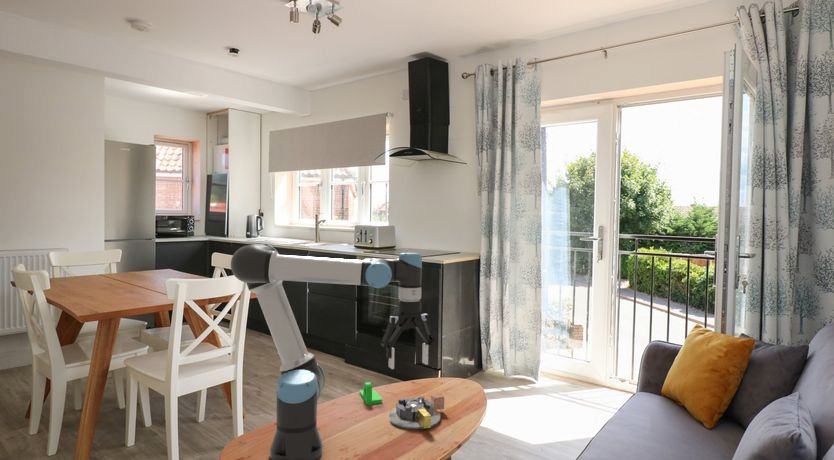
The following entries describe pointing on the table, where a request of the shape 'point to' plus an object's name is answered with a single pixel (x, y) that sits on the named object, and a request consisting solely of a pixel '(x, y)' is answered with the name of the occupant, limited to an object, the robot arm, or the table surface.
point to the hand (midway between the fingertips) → (408, 365)
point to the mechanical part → (370, 394)
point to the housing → (415, 425)
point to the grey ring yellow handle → (416, 411)
